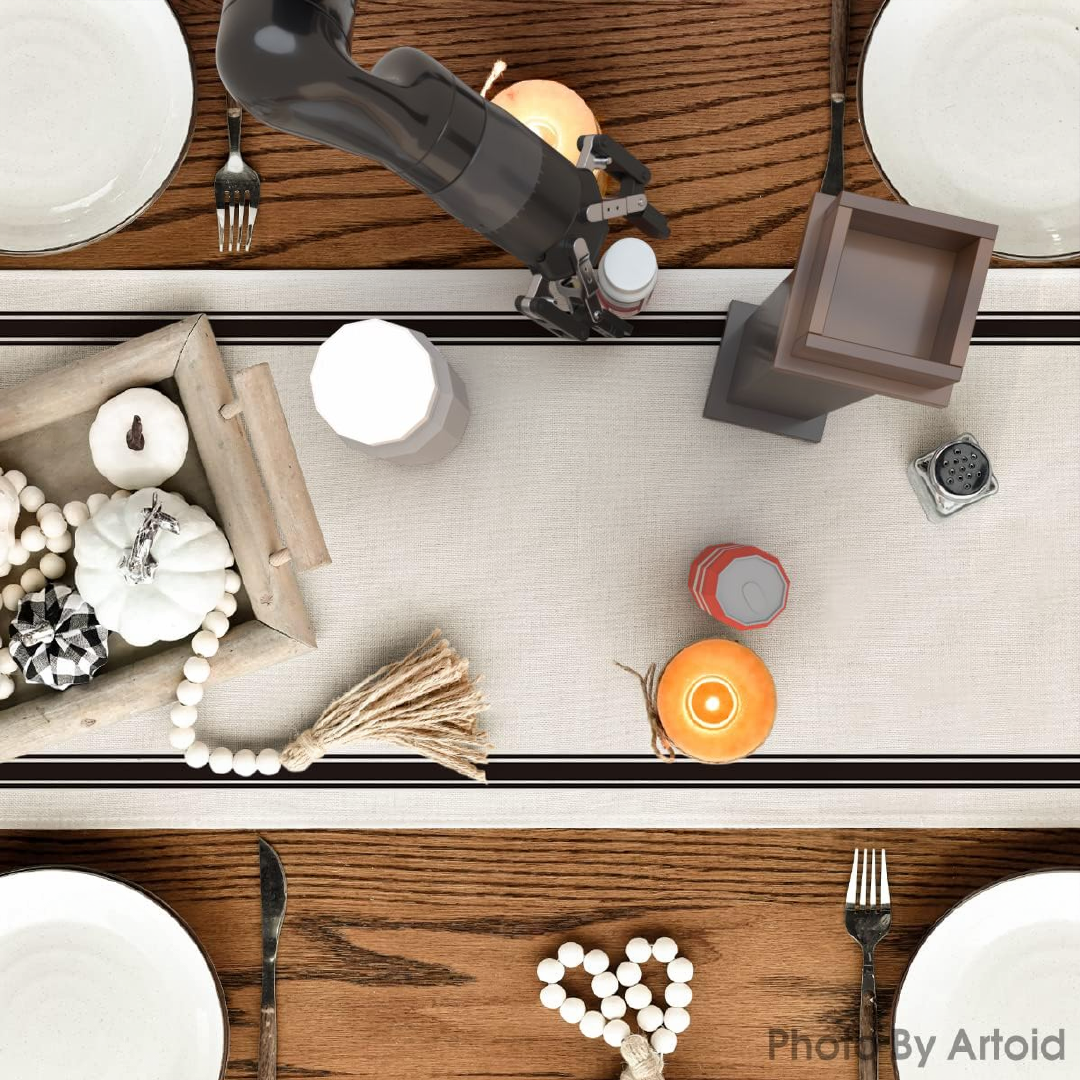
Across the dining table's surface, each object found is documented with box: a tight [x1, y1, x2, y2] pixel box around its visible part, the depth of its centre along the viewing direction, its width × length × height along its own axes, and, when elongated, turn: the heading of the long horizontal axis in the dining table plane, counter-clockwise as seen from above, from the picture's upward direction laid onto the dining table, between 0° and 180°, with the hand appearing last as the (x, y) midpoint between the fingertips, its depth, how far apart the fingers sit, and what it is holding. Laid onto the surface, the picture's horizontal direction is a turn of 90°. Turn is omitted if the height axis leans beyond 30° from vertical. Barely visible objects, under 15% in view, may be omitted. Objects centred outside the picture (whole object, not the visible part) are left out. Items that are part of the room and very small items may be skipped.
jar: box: [309, 317, 472, 468], centre depth 71 cm, size 10×10×18 cm
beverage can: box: [687, 542, 791, 632], centre depth 73 cm, size 6×6×12 cm
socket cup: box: [770, 189, 1000, 410], centre depth 51 cm, size 10×10×4 cm
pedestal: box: [701, 270, 877, 445], centre depth 66 cm, size 10×10×26 cm
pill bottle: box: [596, 237, 659, 318], centre depth 75 cm, size 5×5×8 cm
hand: (643, 282), depth 74 cm, fingers open, 7 cm apart
